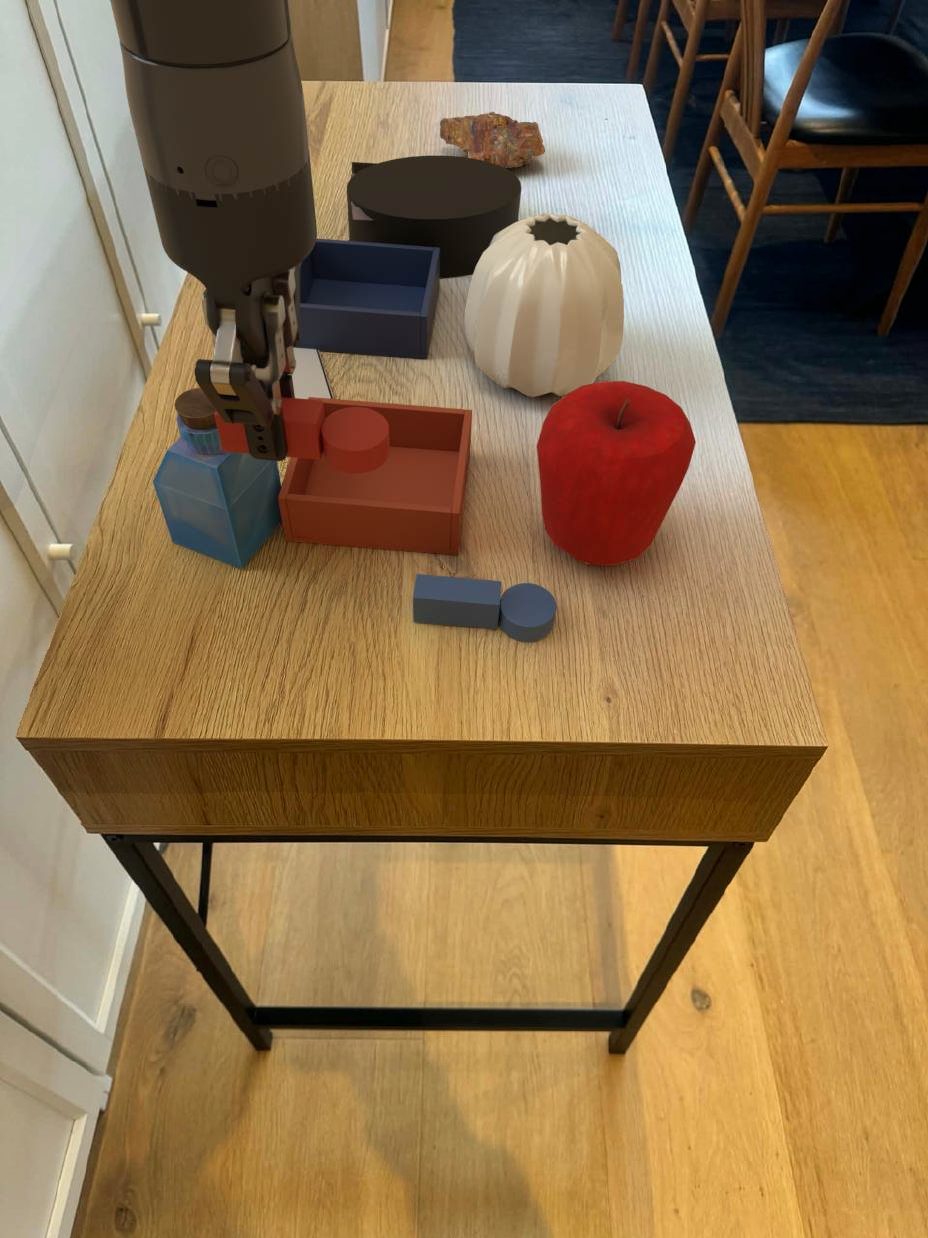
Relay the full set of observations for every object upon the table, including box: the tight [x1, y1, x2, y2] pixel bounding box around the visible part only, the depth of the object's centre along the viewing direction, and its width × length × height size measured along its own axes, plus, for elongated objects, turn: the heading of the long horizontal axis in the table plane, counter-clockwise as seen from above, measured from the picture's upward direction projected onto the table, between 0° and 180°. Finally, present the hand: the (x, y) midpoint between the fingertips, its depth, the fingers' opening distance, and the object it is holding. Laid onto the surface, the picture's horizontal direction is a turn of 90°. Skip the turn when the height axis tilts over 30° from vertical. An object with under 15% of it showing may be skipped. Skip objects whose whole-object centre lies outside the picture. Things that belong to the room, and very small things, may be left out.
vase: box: [463, 212, 625, 398], centre depth 77 cm, size 14×14×13 cm
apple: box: [536, 380, 697, 566], centre depth 64 cm, size 10×10×14 cm
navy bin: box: [294, 237, 441, 360], centre depth 84 cm, size 13×12×4 cm
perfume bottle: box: [152, 387, 282, 570], centre depth 64 cm, size 6×6×12 cm
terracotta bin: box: [278, 397, 473, 556], centre depth 69 cm, size 13×12×4 cm
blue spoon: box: [412, 573, 558, 643], centre depth 63 cm, size 10×4×3 cm, turn 85°
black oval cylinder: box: [346, 154, 522, 279], centre depth 93 cm, size 14×18×8 cm
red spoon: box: [215, 397, 390, 474], centre depth 53 cm, size 10×4×3 cm, turn 85°
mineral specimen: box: [439, 111, 546, 169], centre depth 105 cm, size 12×8×7 cm
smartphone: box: [289, 347, 335, 399], centre depth 79 cm, size 7×1×15 cm
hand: (274, 440), depth 54 cm, fingers closed on red spoon, 2 cm apart
